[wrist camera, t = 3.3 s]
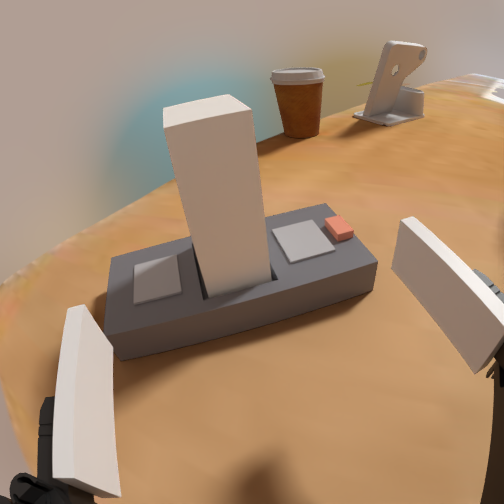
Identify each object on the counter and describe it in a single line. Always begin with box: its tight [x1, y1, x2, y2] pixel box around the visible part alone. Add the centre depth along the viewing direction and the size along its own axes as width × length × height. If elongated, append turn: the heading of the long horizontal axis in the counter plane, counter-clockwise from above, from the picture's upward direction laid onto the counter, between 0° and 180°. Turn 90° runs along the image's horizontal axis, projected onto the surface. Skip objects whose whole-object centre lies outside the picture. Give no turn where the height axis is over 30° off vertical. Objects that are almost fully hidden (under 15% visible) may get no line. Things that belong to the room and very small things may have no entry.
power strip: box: [103, 203, 378, 361], centre depth 25 cm, size 20×9×4 cm, turn 105°
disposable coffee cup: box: [270, 68, 325, 138], centre depth 51 cm, size 10×10×12 cm
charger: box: [163, 94, 272, 298], centre depth 21 cm, size 4×6×13 cm
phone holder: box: [354, 41, 427, 126], centre depth 57 cm, size 17×10×18 cm, turn 123°
